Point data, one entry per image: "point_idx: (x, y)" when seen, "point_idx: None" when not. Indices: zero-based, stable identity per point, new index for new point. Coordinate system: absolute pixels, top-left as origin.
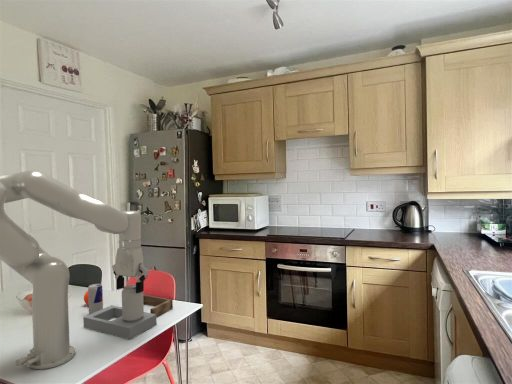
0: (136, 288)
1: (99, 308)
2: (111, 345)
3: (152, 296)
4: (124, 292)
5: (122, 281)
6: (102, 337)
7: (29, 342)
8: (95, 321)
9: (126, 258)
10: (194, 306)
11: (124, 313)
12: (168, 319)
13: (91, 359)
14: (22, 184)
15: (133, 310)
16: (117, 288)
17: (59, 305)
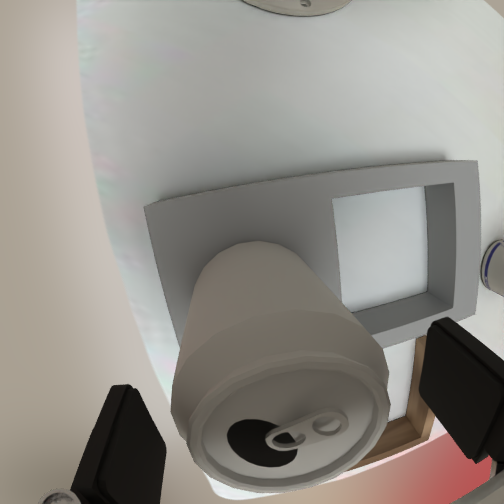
0: (105, 421)
1: (498, 274)
2: (182, 117)
3: (384, 456)
4: (291, 330)
5: (458, 419)
6: (297, 138)
7: (459, 16)
8: (409, 164)
9: None
10: (224, 493)
11: (255, 250)
12: None
13: (148, 21)
14: None
15: (196, 295)
16: (440, 326)
17: None
